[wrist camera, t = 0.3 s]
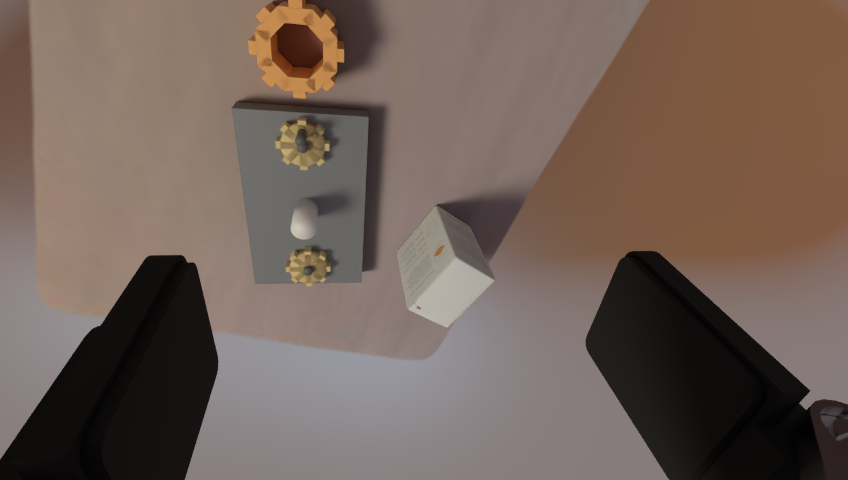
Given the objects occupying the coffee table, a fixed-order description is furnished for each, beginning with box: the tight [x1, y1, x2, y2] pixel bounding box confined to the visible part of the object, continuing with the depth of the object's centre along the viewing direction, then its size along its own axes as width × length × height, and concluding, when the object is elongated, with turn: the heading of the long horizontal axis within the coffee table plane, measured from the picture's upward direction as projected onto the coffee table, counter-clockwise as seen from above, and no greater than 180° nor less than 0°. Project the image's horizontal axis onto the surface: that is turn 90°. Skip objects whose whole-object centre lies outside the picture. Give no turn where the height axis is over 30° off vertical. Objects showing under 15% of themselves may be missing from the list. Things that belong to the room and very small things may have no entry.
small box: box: [397, 205, 495, 328], centre depth 46 cm, size 8×6×10 cm
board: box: [232, 102, 369, 286], centre depth 43 cm, size 20×12×6 cm, turn 174°
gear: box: [248, 0, 344, 99], centre depth 35 cm, size 7×7×4 cm
